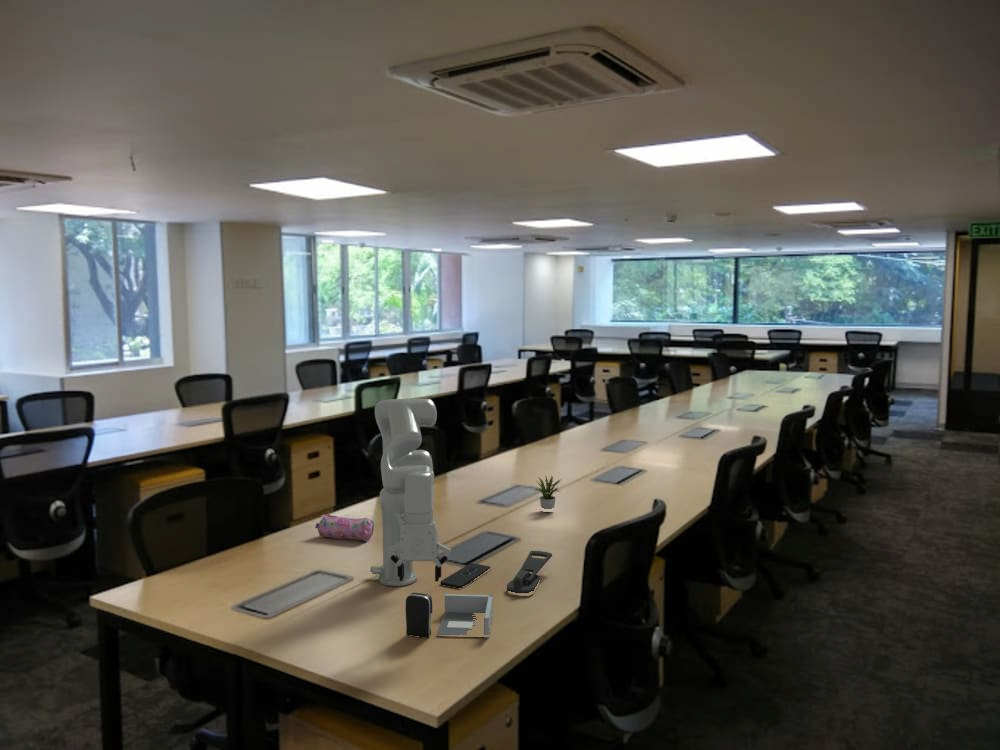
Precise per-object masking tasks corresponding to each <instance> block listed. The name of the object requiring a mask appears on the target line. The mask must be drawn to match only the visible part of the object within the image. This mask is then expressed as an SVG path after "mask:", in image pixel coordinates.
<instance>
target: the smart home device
mask: <svg viewBox="0 0 1000 750" xmlns="http://www.w3.org/2000/svg"><path fill="white" fill-rule="evenodd" d="M490 568H491V566H489V565H484V564H479V563H473V562H471V563H468V564H467V565H466V566H464V567H462V568H460V569H459V570H457V571H455V572H454V573H452V574H450V575H448V576H447V577H445V578H443V579H442V580H440V586H442V585H445V586H444V587H447V586H450V587H449V588H452V587H455V588H454V589H456V588H462V587H463V586H465V585H467V584H469V583H470V582H471V581H473V580H474V579H475V578H477V577H478V576H480V575H481V574H483V573H484V572H485V571H487V570H488V569H490ZM491 569H492V568H491ZM473 582H474V581H473ZM470 584H471V583H470ZM470 584H469V585H470ZM467 586H468V585H467ZM465 587H466V586H465ZM462 589H463V588H462Z"/></svg>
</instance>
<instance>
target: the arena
mask: <svg viewBox="0 0 1000 750" xmlns="http://www.w3.org/2000/svg"><path fill="white" fill-rule="evenodd" d="M473 613H485V618H484V635H489V636H490V634H489V631H490V632H491V628H490V625H491V626H492V622H491V620H492V621H493V616H492V614H493V615H494V595H493V594H468V593H467V594H462V593H461V594H460V593H459V594H457V593H455V594H454V593H444V613H443V615H442V620H441V623H440V625H439V628H438V631H437V634H436V635H461V634H462V635H467V634H466V633H467V631H469V630H472V629H469V628H472V627H473V626H476V625H473V623H475V622H472V621H475V620H473V619H476V618H473V617H476V616H472V615H475V614H473ZM476 620H477V619H476Z"/></svg>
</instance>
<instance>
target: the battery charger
mask: <svg viewBox="0 0 1000 750" xmlns="http://www.w3.org/2000/svg"><path fill="white" fill-rule="evenodd" d="M432 613H433V599H432V596H431V595H430V594H428V593H422V592H412V593H410V594H408V595H407V597H406V598H405V624H406V627H405V628H406V629H405V630H406V631H405V632H406V633H405V634H406V636H409V635H412V636H411V637H415V636H419V637H418V638H422V637H427V638H426V639H428V638H430V637H431V635H432V629H431V618H432ZM429 636H430V637H429Z"/></svg>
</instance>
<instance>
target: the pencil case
mask: <svg viewBox="0 0 1000 750" xmlns="http://www.w3.org/2000/svg"><path fill="white" fill-rule="evenodd" d="M320 518H321V519H320V521H319V523H317V522H316V523H315V528H314V529H317V531H318V534H319V536H320V537H323V538H329V537H330V538H331V539H334V540H355V541H363V542H366V541H367V542H368V541H369V540H371V538H372V536H373V534H374V529H375V523H374V521H373V519H370V518H367V517H362V518H350V517H342V516H337V515H332V514H328V513H327V514H322V515H320Z"/></svg>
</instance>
